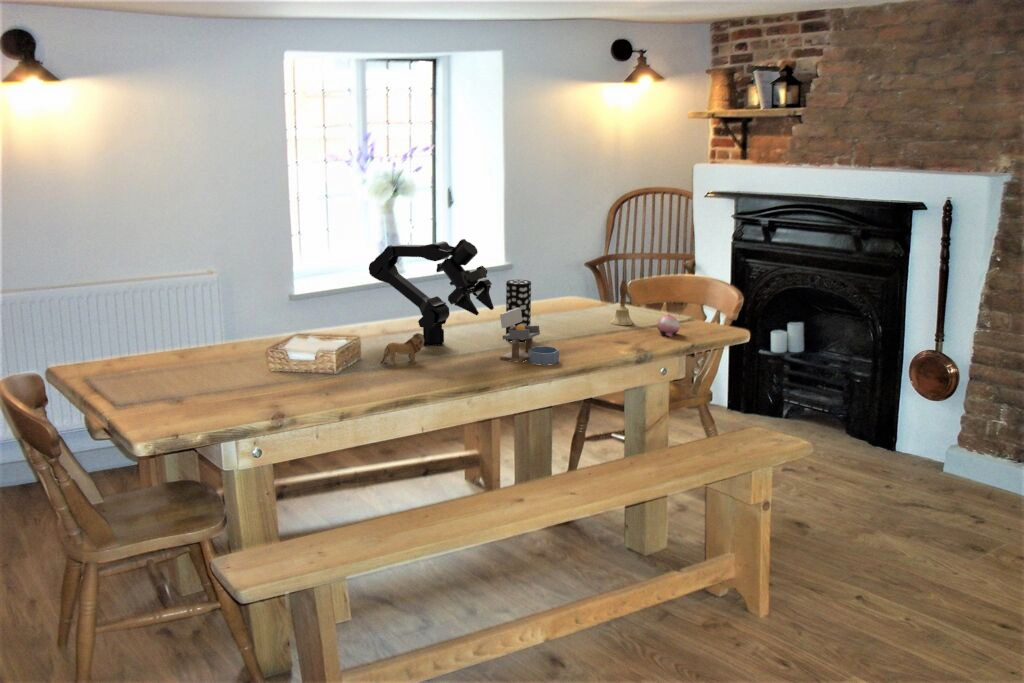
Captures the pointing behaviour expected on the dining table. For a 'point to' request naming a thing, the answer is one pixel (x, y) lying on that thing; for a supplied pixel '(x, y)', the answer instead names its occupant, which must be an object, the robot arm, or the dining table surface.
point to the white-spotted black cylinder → (519, 301)
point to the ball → (520, 327)
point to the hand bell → (622, 308)
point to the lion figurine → (404, 348)
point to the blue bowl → (543, 355)
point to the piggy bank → (668, 325)
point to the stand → (518, 351)
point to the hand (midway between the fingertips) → (485, 311)
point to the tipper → (510, 320)
